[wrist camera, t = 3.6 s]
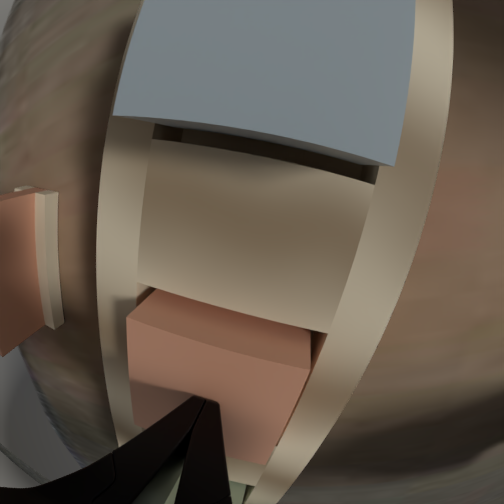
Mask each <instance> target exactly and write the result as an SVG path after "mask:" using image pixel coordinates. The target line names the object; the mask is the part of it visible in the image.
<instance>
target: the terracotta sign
mask: <svg viewBox="0 0 504 504" xmlns="http://www.w3.org/2000/svg"><path fill="white" fill-rule="evenodd" d="M63 323H64V315H63V307H62V299H61V289H60V277H59V262H58V192H56V191H51V190H46V189H41V188H36V187H32V186H22V187H18V188H15V192H12V193H7V194H3V195H0V355H1V356H2V357H4V356H5V355H6V354H7V353H8V352H10V351H11V350H12V349H14V348H15V347H16V346H18V345H19V344H20V343H21V342H23V341H24V340H25V339H27V338H28V337H29V336H31V335H32V334H33V333H35V332H36V331H37V330H39V329H40V328H41V327H43V326H44V325H47V326H49V327H50V328H52V329H54V330H55V329H57V328H58V327H59V326H61V325H62V324H63Z"/></svg>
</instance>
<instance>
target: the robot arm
mask: <svg viewBox="0 0 504 504" xmlns="http://www.w3.org/2000/svg"><path fill="white" fill-rule="evenodd" d="M180 475H181V476H180ZM179 476H180V481H179V485H178V489H177V493H176V497H175V501H174V504H232V497H231V496H230V495H231V491H230V484H229V477H228V469H227V462H226V454H225V446H224V437H223V429H222V420H221V410H220V404H219V403H217V402H214V401H211V400H207V401H206V400H205V399H204V398H201V397H198V396H191V397H190V398H189V399H187V400H186V401H185V402H183V403H182V404H181V405H179V406H178V407H176V408H175V409H174V410H172V411H171V412H170V413H168V414H167V415H165V416H164V417H163V418H161V419H160V420H158V421H157V422H156V423H154V424H153V425H151V426H150V427H148V428H147V429H145V430H144V431H143V432H141V433H140V434H138V435H137V436H135V437H134V438H132V439H131V440H129V441H128V442H126V443H125V444H123V445H122V446H120V447H119V448H117V449H116V450H114V451H113V452H112V453H109V454H108V455H106V456H104V457H103V458H101V459H99V460H98V461H96V462H94V463H92V464H91V465H89V466H87V467H85V468H83V469H80V470H78V471H76V472H74V473H71V474H69V475H66V476H64V477H61V478H59V479H56V480H53V481H51V482H48V483H45V484H42V485H39V486H36V487H31V488H7V487H0V504H165V502H166V500H167V498H168V496H169V495H170V493H171V491H172V489H173V487H174V486H175V484H176V482H177V480H178V478H179Z"/></svg>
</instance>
